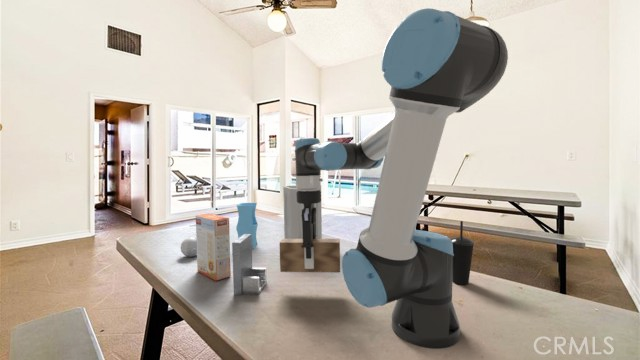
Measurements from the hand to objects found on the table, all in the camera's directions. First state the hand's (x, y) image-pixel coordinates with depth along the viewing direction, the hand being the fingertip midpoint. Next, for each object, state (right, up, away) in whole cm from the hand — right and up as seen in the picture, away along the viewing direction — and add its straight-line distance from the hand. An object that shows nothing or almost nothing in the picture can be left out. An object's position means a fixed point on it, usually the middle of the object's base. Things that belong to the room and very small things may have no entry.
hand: (310, 265), depth 89 cm
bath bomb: (-52, -6, +34) cm, 62 cm away
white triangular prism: (-7, -5, +47) cm, 48 cm away
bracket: (-19, -8, +3) cm, 21 cm away
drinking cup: (+49, -7, +5) cm, 49 cm away
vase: (-31, -5, +48) cm, 58 cm away
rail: (0, -1, 0) cm, 1 cm away
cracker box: (-35, -8, +14) cm, 39 cm away
